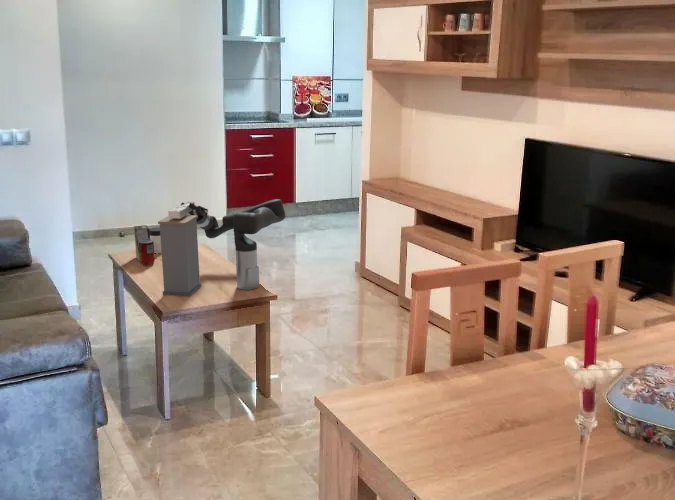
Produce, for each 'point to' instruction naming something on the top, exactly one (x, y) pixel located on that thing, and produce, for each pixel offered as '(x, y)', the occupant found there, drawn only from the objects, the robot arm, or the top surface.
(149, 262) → the soda can
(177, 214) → the grey rectangular bar
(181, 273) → the stand
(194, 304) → the top surface
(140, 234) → the coffee box
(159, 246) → the jar
